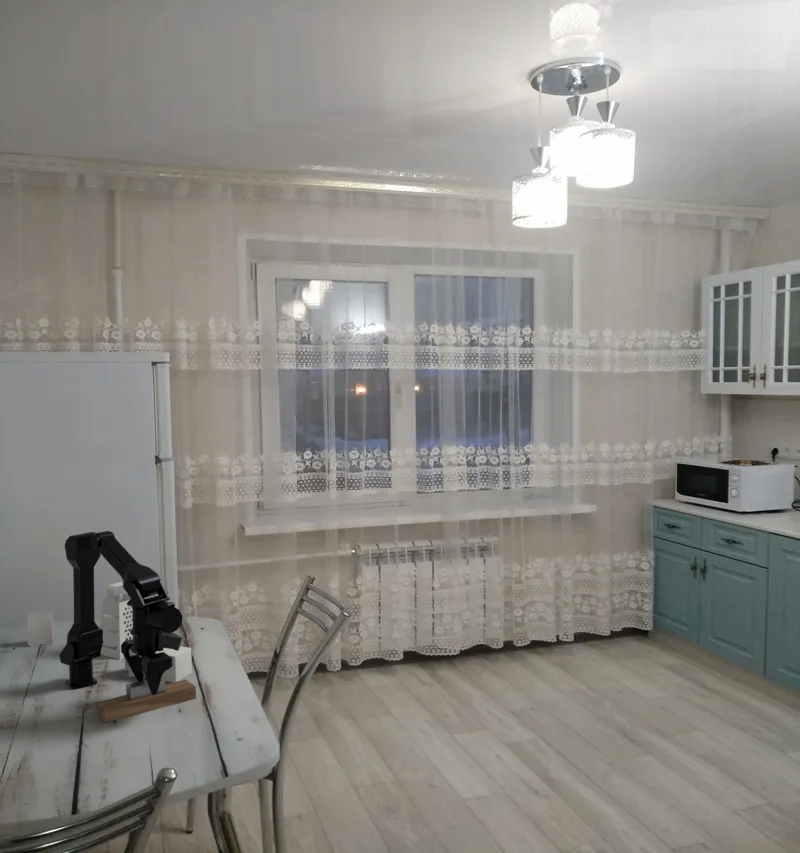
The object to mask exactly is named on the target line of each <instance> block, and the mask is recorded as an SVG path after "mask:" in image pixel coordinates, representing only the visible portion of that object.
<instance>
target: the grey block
mask: <svg viewBox="0 0 800 853" xmlns="http://www.w3.org/2000/svg"><path fill="white" fill-rule="evenodd" d="M165 685H166V682H165V679H163V678H161V681H160V685H159V688H158V692H157V694H160V693H163V692H165ZM125 690H126V692H125V693H126V694H125V695H126V697H127V698H128V699H129V700H130V701H133V700H137V699H140V698H144V697H148V696H152V694H151V692H150V689H149V687H148V684H147V682H146V679H143V681H139V682H137V681H136V682H131V683H128V684H126V685H125Z"/></svg>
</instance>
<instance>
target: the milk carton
mask: <svg viewBox="0 0 800 853" xmlns="http://www.w3.org/2000/svg"><path fill="white" fill-rule="evenodd" d="M161 652H164V653H166V654H167V655H169V656H170V657H171V658H173V667H171V668H170V669H169V670H166V671H165V672H164V673H163V675H162V678H163V679H165V683H174V682H178V681H182V680H184V679H185V678H187V677H188V676H190V675H192V673H193V668H192V667H193V665H192V664H193V663H192V648H191V647H187V646H180V648H179V650H178V651H176V650H174V649H168V648H163V651H156V653H161ZM124 670H125V671H126V672H128V677H129V678H130V677H131V678H135V676H134V674H133V673H132V671H131V669H130V667H129V665H128V663H127V661H126V659H125V658H124ZM143 680H146V679H145V677H144V679H143Z"/></svg>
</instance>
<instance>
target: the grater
mask: <svg viewBox="0 0 800 853" xmlns="http://www.w3.org/2000/svg"><path fill="white" fill-rule="evenodd" d="M121 586H123V580H122V581H119V582H115V583H111V584H108V586H107V587H106V590H105V591H106V597H105V598H103V599H102V602H101V611H100V612H101V613H100V620H99V628H101V629H102V630H103V642H104V643H103V644H102V649H101V653H100V656H101V655H102V656H105V657H109V658H114V659H116V660H123V659H125V658H124V656H123V655H124V654H123V653H121V645H122V643H123V642H124V641H126V640H131V639H133V635H131V634H130V629H133V618H132V606H128V605H127V602H128V601H129V600H130V599H131V598H130V597H129V595H128V594H127V593H121V594H118V595H116V592H115V591H116V589H117V588H118V587H121ZM129 608H130V609H129ZM115 647H116V648H115ZM114 648H115V649H114Z"/></svg>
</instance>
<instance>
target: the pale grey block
mask: <svg viewBox="0 0 800 853" xmlns="http://www.w3.org/2000/svg"><path fill="white" fill-rule="evenodd" d="M53 614H54V613H53V609H48V610H47V609H46V610H38V611H28V612H27V625H26V626H27V628H26V629H27V646H28V645H38V644H51V645H54V642H55V634H54V631H55V630H54V616H53ZM53 641H54V642H53Z"/></svg>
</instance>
